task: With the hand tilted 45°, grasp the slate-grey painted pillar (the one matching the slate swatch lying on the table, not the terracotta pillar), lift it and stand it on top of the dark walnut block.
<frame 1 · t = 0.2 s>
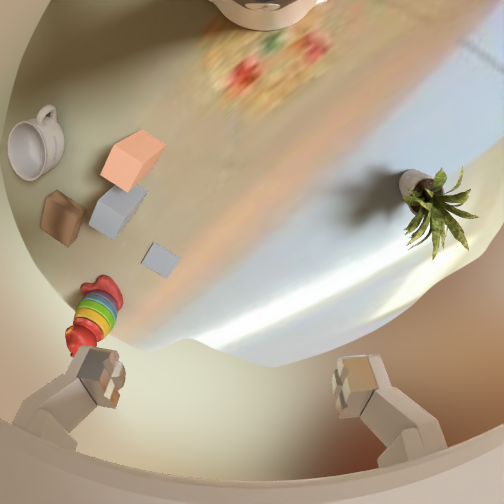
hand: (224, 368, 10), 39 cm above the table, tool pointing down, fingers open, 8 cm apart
walnut block: (67, 213, 51), on the table
terracotta pillar: (146, 149, 44), on the table
stacking bear: (105, 294, 63), on the table
teacup: (55, 132, 41), on the table
house plant: (407, 176, 45), on the table
slate swatch: (160, 260, 56), on the table
slate pillar: (130, 194, 48), on the table
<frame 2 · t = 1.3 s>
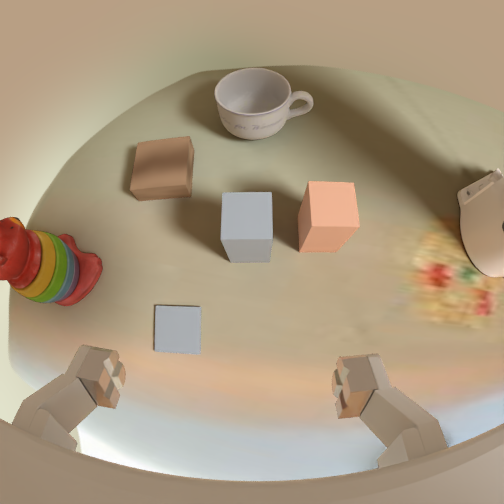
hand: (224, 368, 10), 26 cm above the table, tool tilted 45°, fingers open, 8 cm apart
walnut block: (167, 175, 42), on the table
terracotta pillar: (316, 233, 39), on the table
stacking bear: (69, 274, 39), on the table
teacup: (263, 124, 44), on the table
slate swatch: (177, 329, 36), on the table
slate pillar: (250, 243, 39), on the table
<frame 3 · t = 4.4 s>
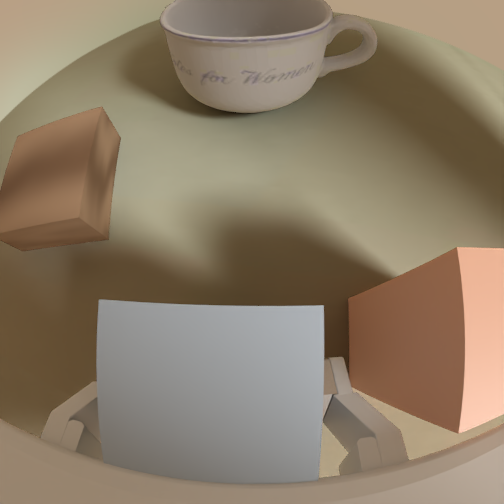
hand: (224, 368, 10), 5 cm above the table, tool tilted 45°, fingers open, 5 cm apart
walnut block: (69, 194, 18), on the table
terracotta pillar: (388, 339, 15), on the table
teacup: (267, 89, 21), on the table
slate pillar: (233, 368, 15), on the table
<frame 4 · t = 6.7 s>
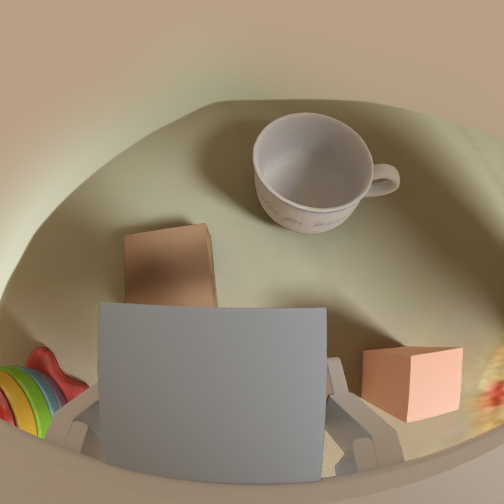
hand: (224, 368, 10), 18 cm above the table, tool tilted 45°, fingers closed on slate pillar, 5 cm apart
walnut block: (176, 279, 29), on the table
terracotta pillar: (384, 372, 26), on the table
stacking bear: (56, 399, 25), on the table
teacup: (317, 200, 31), on the table
slate pillar: (234, 369, 15), point 12 cm above the table, touching gripper
when the fingers open (11 cm above the table, at t = 9.0 s): slate pillar drops 1 cm, resting on walnut block.
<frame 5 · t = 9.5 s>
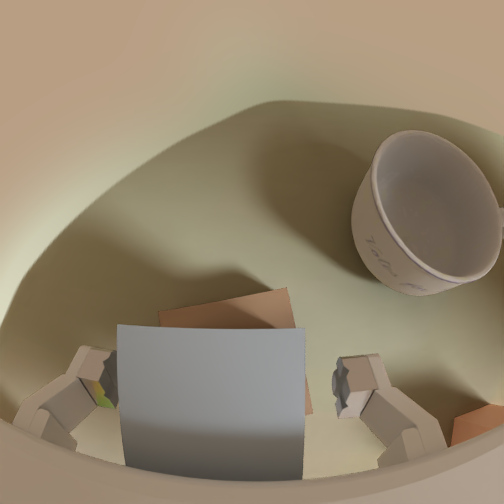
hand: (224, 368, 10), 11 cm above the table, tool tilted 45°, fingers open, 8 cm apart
walnut block: (237, 360, 20), on the table, touching slate pillar
terracotta pillar: (470, 434, 17), on the table
teacup: (412, 242, 23), on the table
slate pillar: (235, 370, 16), point 4 cm above the table, touching walnut block
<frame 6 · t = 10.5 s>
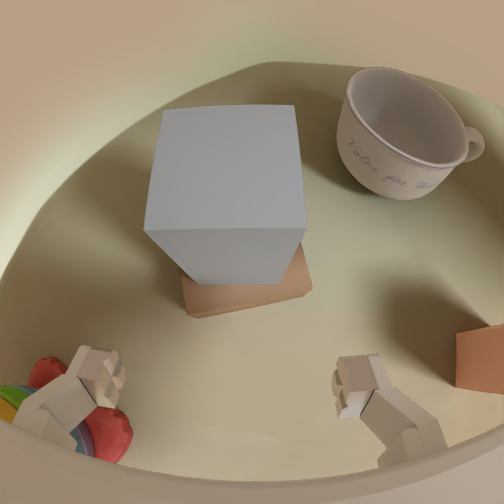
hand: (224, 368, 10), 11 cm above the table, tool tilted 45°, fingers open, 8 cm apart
walnut block: (239, 257, 23), on the table
terracotta pillar: (474, 355, 20), on the table
stacking bear: (72, 426, 19), on the table
teacup: (394, 167, 25), on the table
slate pillar: (238, 246, 19), point 4 cm above the table
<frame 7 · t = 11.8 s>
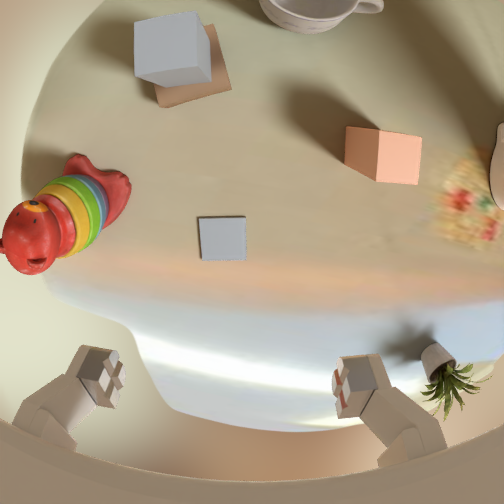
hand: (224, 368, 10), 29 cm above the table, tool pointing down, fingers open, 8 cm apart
walnut block: (191, 69, 30), on the table, touching slate pillar
terracotta pillar: (363, 146, 34), on the table
stacking bear: (93, 196, 36), on the table
teacup: (310, 8, 26), on the table
house plant: (433, 346, 51), on the table
slate swatch: (223, 238, 39), on the table
slate pillar: (187, 63, 26), point 4 cm above the table, touching walnut block
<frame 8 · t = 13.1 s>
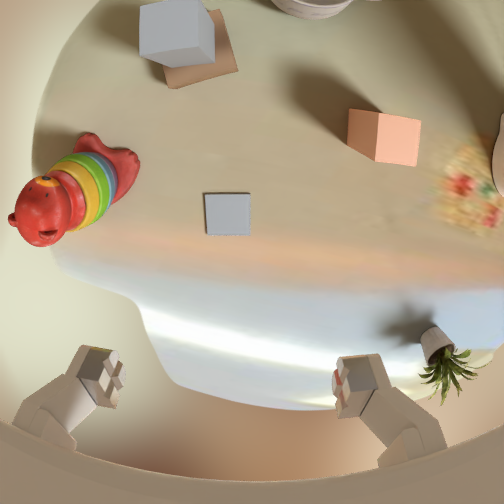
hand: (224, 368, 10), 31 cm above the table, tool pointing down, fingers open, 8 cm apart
walnut block: (199, 52, 30), on the table, touching slate pillar
terracotta pillar: (365, 128, 34), on the table
stacking bear: (102, 173, 37), on the table
house plant: (433, 330, 52), on the table
slate swatch: (228, 214, 40), on the table
slate pillar: (192, 45, 26), point 4 cm above the table, touching walnut block
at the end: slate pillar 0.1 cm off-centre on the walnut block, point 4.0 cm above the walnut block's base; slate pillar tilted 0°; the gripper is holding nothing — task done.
